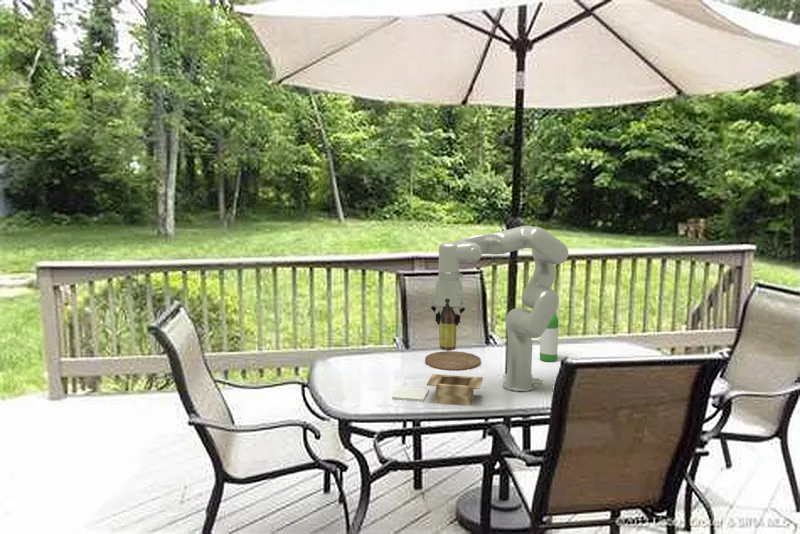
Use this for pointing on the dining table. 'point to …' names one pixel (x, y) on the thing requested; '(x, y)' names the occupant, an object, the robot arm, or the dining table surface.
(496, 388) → the dining table surface
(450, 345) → the sauce bottle
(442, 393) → the carton
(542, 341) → the wine bottle
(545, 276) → the robot arm
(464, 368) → the trivet
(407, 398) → the mat
